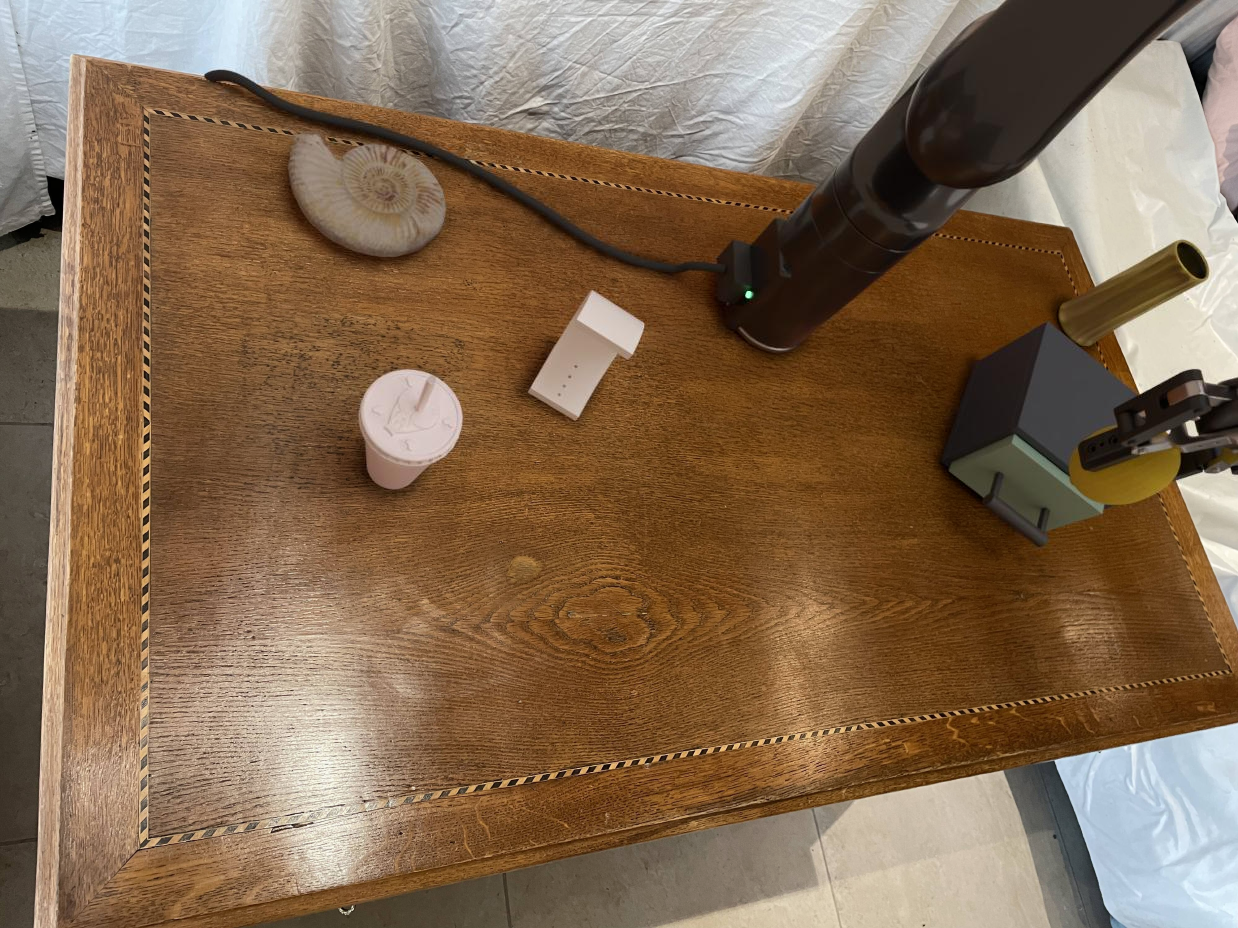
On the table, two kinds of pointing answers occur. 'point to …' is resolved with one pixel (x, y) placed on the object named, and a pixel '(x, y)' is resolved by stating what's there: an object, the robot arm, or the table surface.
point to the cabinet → (1036, 398)
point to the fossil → (366, 196)
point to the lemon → (1126, 476)
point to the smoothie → (407, 425)
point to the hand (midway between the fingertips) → (1115, 465)
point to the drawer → (1024, 488)
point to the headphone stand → (585, 354)
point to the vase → (1133, 292)
